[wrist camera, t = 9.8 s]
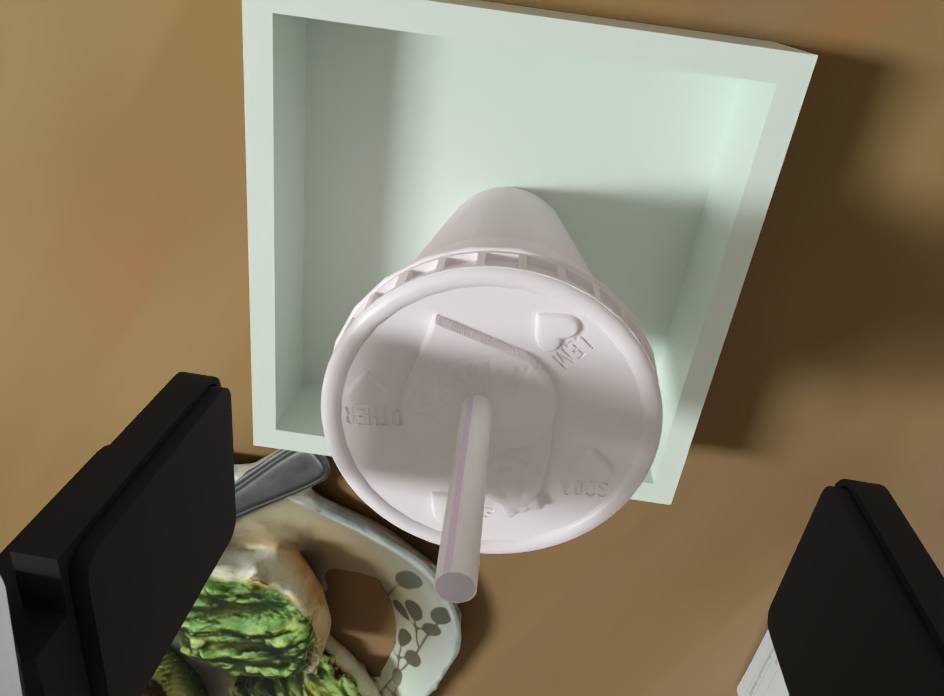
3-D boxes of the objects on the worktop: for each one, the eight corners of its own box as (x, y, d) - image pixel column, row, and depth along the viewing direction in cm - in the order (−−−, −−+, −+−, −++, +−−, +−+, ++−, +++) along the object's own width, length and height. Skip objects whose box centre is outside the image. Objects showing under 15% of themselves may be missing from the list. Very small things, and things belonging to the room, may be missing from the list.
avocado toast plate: (119, 313, 25) (39, 380, 21) (555, 530, 28) (560, 625, 24) (0, 637, 33) (-74, 730, 29) (346, 775, 36) (324, 877, 32)
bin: (771, 40, 19) (818, 55, 16) (653, 439, 25) (671, 504, 22) (287, -27, 19) (241, -26, 16) (287, 386, 25) (253, 445, 22)
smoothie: (571, 103, 20) (644, 334, 7) (639, 304, 22) (776, 724, 10) (363, 188, 21) (130, 497, 9) (449, 366, 24) (363, 797, 11)
